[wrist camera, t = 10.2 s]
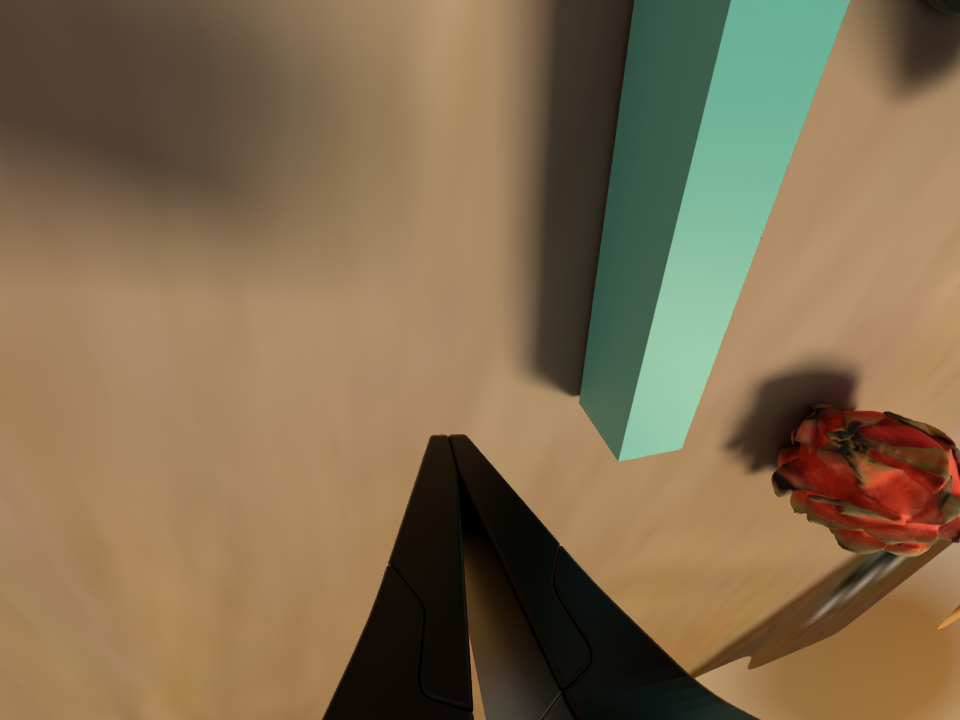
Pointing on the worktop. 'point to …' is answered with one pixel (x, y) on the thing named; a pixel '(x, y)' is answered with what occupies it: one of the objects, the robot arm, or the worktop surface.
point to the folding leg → (691, 198)
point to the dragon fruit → (873, 480)
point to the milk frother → (946, 6)
